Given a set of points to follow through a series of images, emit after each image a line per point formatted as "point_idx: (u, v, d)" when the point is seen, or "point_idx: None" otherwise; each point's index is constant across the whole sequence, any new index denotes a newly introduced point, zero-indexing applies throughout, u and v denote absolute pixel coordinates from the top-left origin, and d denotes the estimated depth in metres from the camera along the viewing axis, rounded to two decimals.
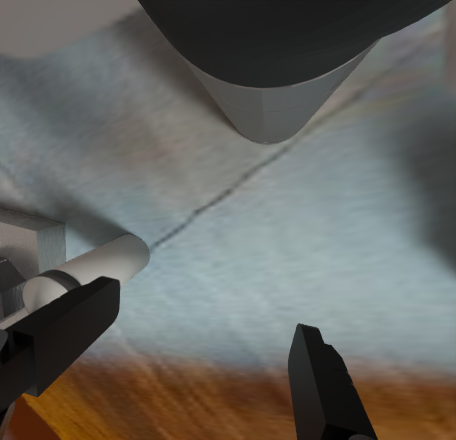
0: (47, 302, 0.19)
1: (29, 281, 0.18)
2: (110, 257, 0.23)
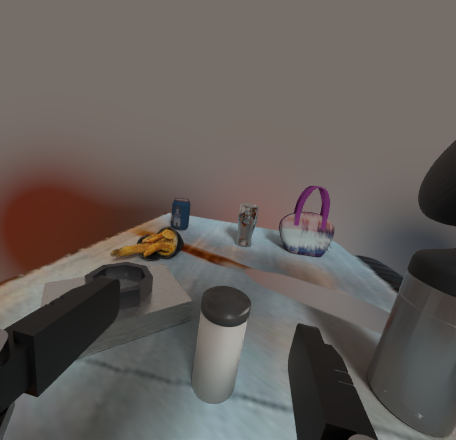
0: (227, 298, 0.25)
1: (229, 287, 0.27)
2: None
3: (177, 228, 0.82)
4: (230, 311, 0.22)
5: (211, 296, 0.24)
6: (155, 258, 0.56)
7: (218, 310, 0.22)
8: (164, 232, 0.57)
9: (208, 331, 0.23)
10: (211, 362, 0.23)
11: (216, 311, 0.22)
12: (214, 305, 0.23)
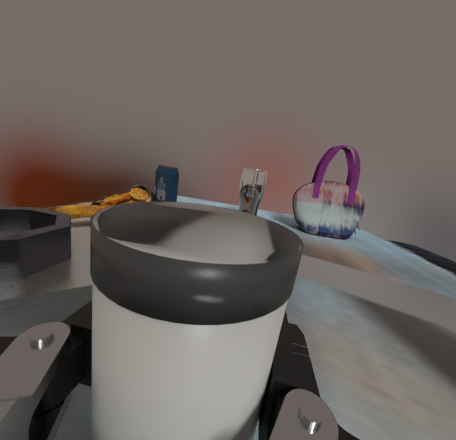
0: (207, 219, 0.07)
1: (221, 208, 0.09)
2: None
3: None
4: (214, 246, 0.04)
5: (147, 210, 0.06)
6: None
7: (152, 239, 0.04)
8: (133, 191, 0.39)
9: (104, 347, 0.05)
10: None
11: (136, 238, 0.04)
12: (142, 225, 0.05)
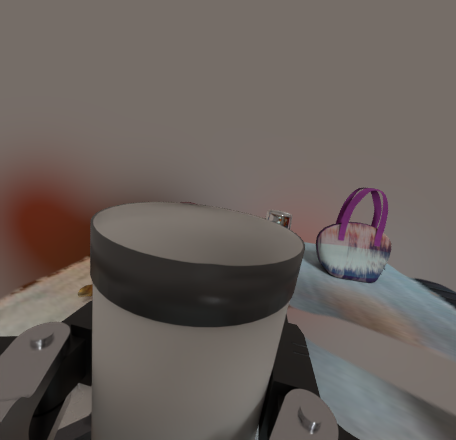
0: (208, 220, 0.06)
1: (221, 208, 0.09)
2: None
3: None
4: (215, 247, 0.04)
5: (147, 211, 0.06)
6: None
7: (153, 240, 0.04)
8: None
9: (104, 349, 0.04)
10: None
11: (137, 239, 0.04)
12: (143, 226, 0.05)
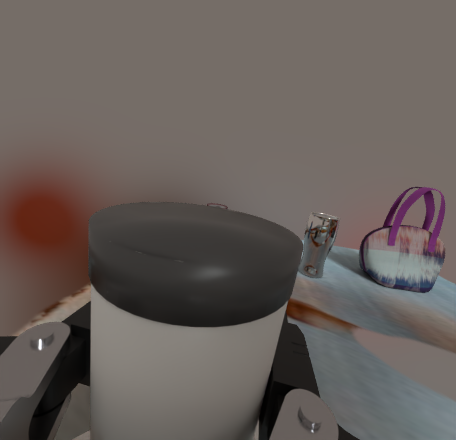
0: (206, 220, 0.06)
1: (220, 208, 0.09)
2: None
3: None
4: (214, 247, 0.04)
5: (146, 211, 0.06)
6: None
7: (150, 240, 0.04)
8: None
9: (102, 349, 0.04)
10: None
11: (135, 239, 0.04)
12: (141, 226, 0.05)
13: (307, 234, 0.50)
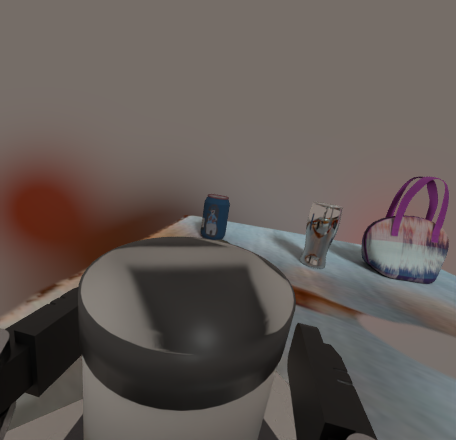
0: (200, 267, 0.06)
1: (216, 242, 0.09)
2: None
3: (211, 238, 0.57)
4: (203, 319, 0.04)
5: (138, 258, 0.06)
6: None
7: (139, 315, 0.04)
8: None
9: (93, 416, 0.05)
10: None
11: (124, 315, 0.04)
12: (132, 288, 0.05)
13: (309, 224, 0.49)
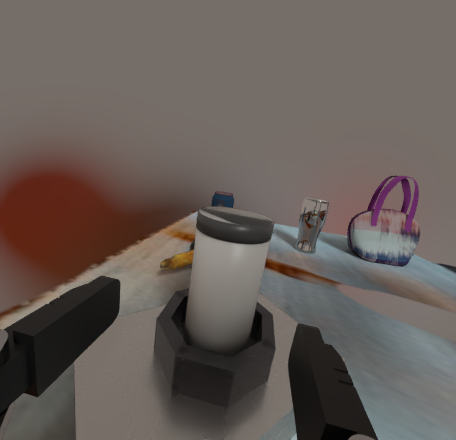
0: (236, 214, 0.16)
1: (239, 209, 0.18)
2: None
3: None
4: (243, 222, 0.14)
5: (212, 210, 0.16)
6: None
7: (224, 219, 0.14)
8: None
9: (207, 255, 0.14)
10: (213, 307, 0.14)
11: (220, 219, 0.14)
12: (217, 216, 0.14)
13: (302, 215, 0.59)
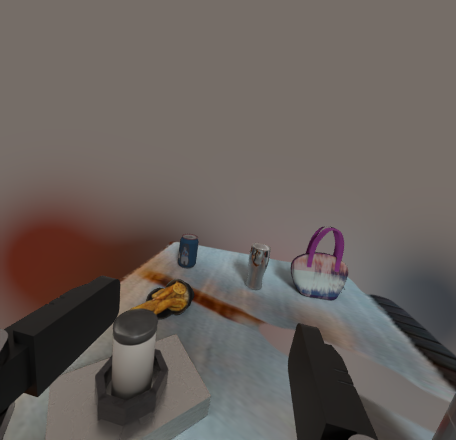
0: (137, 320, 0.30)
1: (146, 310, 0.32)
2: (153, 356, 0.31)
3: (184, 266, 0.79)
4: (133, 332, 0.27)
5: (124, 318, 0.29)
6: (165, 316, 0.53)
7: (123, 332, 0.27)
8: (175, 287, 0.54)
9: (115, 348, 0.28)
10: (119, 374, 0.28)
11: (120, 332, 0.27)
12: (122, 327, 0.28)
13: (249, 259, 0.72)
